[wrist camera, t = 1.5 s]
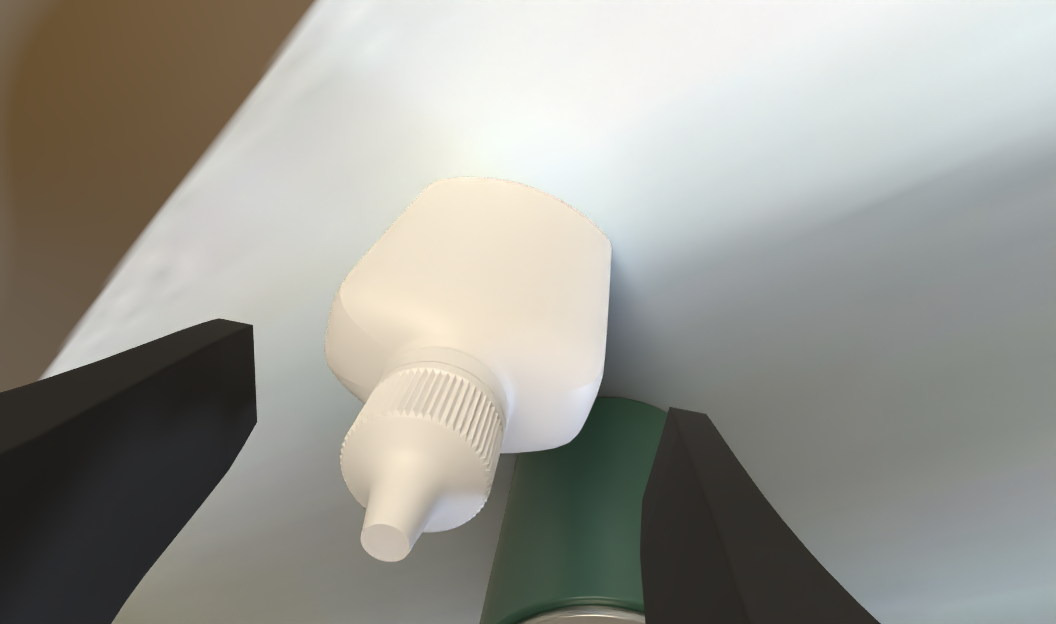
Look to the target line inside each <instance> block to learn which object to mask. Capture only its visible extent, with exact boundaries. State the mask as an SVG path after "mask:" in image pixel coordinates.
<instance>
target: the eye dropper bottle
mask: <svg viewBox="0 0 1056 624" xmlns="http://www.w3.org/2000/svg"><path fill="white" fill-rule="evenodd" d="M611 251H612V247H611V244H610V242H609V240H608V238H607V236H606V234H605V233H604V232H603V231H602V230H601V229H600V228H599V227H598V226H597V225H596V224H594V223H593V222H592V221H591V220H590V219H588V218H587V217H586V216H584V215H583V214H582V213H580V212H579V211H578V210H576V209H575V208H573V207H572V206H570V205H568V204H567V203H565V202H563V201H561V200H560V199H558V198H556V197H554V196H552V195H550V194H548V193H545V192H543V191H541V190H538V189H535V188H533V187H530V186H527V185H523V184H520V183H516V182H512V181H507V180H501V179H495V178H485V177H453V178H446V179H440V180H438V181H436V182H434V183H432V184H430V185H429V186H427V187H426V188H425V190H424V191H423V192H422V193H421V194H420V195H419V196H418V197H417V198H416V199H415V200H414V201H413V202H412V204H411V205H410V206H409V207H408V208H407V209H406V210H405V211H404V212H403V213H402V214H401V215H400V216H399V218H398V219H397V220H396V221H395V222H394V223H393V224H392V225H391V226H390V227H389V228H388V230H387V231H386V232H385V233H384V234H383V235H382V236H381V237H380V238H379V239H378V241H377V242H376V243H375V244H374V245H373V246H372V247H371V248H370V249H369V250H368V252H367V253H366V254H365V255H364V256H363V257H362V258H361V260H360V261H359V262H358V263H357V264H356V266H355V267H354V268H353V269H352V270H351V272H350V273H349V274H348V275H347V276H346V278H345V279H344V281H343V283H342V284H341V286H340V287H339V289H338V291H337V292H336V294H335V296H334V300H333V304H332V308H331V312H330V316H329V321H328V326H327V332H326V338H325V350H324V351H325V356H326V361H327V365H328V366H329V368H330V369H331V371H332V372H333V374H334V375H335V376H336V378H337V379H338V380H339V381H340V382H341V383H342V384H343V385H344V386H345V387H346V388H347V389H348V390H349V391H350V392H351V393H352V394H353V395H355V396H356V397H357V398H358V399H359V400H360V401H361V402H363V403H364V404H365V405H364V407H363V408H362V410H361V412H360V413H359V415H358V417H357V418H356V420H355V422H354V423H353V425H352V427H351V428H350V430H349V432H348V433H347V435H346V437H345V438H344V442H343V444H342V449H341V450H340V451H341V456H340V460H341V462H340V465H341V471H342V473H343V478H344V480H345V483H346V485H347V486H348V489H349V490H350V492H351V493H352V495H353V496H354V497H355V499H356V500H357V501H358V502H359V503H360V504H361V505H362V506H363V507H364V508H365V509H366V514H365V519H364V524H363V528H362V533H361V543H362V546H363V548H364V549H365V550H366V551H367V553H369V554H370V555H371V556H373V557H374V558H376V559H379V560H382V561H387V562H395V561H399V560H402V559H403V558H405V557H406V556H407V555H408V553H409V552H410V550H411V549H412V547H413V546H414V544H415V543H416V541H417V540H418V538H419V537H420V535H421V534H422V532H438V531H445V530H449V529H452V528H455V527H459V525H462V524H465V522H467V521H470V520H471V518H473V517H475V516H476V514H477V513H479V512H480V509H481V508H483V507H484V504H485V502H487V499H488V496H489V494H490V490H491V486H492V483H493V479H494V475H495V471H496V467H497V464H498V460H499V456H500V453H522V452H532V451H541V450H547V449H553V448H556V447H559V446H562V445H564V444H567V443H569V442H570V441H571V440H572V439H573V438H575V437H576V436H577V435H578V433H579V432H580V431H581V429H582V427H583V425H584V423H585V421H586V419H587V417H588V415H589V412H590V410H591V408H592V405H593V403H594V401H595V398H596V396H597V393H598V390H599V387H600V384H601V380H602V377H603V371H604V361H605V351H606V337H607V321H608V306H609V288H610V270H611Z"/></svg>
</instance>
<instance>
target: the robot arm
mask: <svg viewBox="0 0 1056 624" xmlns="http://www.w3.org/2000/svg"><path fill="white" fill-rule="evenodd" d="M256 423H257V409H256V386H255V363H254V341H253V325H250V324H245V323H240V322H235V321H230V320H224V319H215V320H211V321H207V322H204V323H201V324H198V325H195V326H192V327H189V328H186V329H183V330H181V331H178V332H175V333H172V334H170V335H167V336H164V337H162V338H159V339H156V340H154V341H151V342H148V343H146V344H143V345H140V346H137V347H135V348H132V349H129V350H127V351H124V352H121V353H119V354H116V355H113V356H110V357H108V358H105V359H102V360H100V361H97V362H94V363H91V364H88V365H85V366H82V367H79V368H76V369H73V370H70V371H67V372H64V373H61V374H58V375H55V376H52V377H49V378H46V379H43V380H40V381H37V382H35V383H31V384H28V385H25V386H22V387H18V388H15V389H12V390H8V391H5V392H1V393H0V624H111V623H112V621H113V620H114V618H115V617H116V615H117V614H118V612H119V611H120V609H121V607H122V606H123V604H124V603H125V601H126V600H127V599H128V597H129V596H130V594H131V593H132V592H133V590H134V589H135V588H136V586H137V585H138V584H139V582H140V581H141V580H142V578H143V577H144V576H145V574H146V573H147V572H148V571H149V569H150V568H151V567H152V566H153V564H154V563H155V562H156V561H157V559H158V558H159V557H160V556H161V554H162V553H163V552H164V551H165V549H166V548H167V547H168V546H169V544H170V543H171V542H172V541H173V539H174V538H175V537H176V536H177V534H178V533H179V532H180V531H181V530H182V528H183V527H184V526H185V525H186V523H187V522H188V521H189V520H190V518H191V517H192V516H193V515H194V513H195V512H196V511H197V510H198V508H199V507H200V506H201V505H202V503H203V502H204V501H205V500H206V498H207V497H208V496H209V495H210V493H211V492H212V491H213V489H214V488H215V487H216V486H217V484H218V483H219V482H220V481H221V479H222V478H223V477H224V475H225V474H226V473H227V471H228V470H229V469H230V467H231V465H232V464H233V462H234V460H235V459H236V457H237V456H238V454H239V452H240V451H241V449H242V447H243V446H244V444H245V442H246V440H247V439H248V437H249V435H250V433H251V432H252V430H253V428H254V426H255V425H256ZM640 564H641V577H642V589H643V601H644V613H645V624H880V623H879V622H878V621H877V620H876V619H875V618H874V617H873V616H872V615H871V614H870V613H869V612H868V611H867V610H865V609H864V608H863V607H862V606H861V605H860V604H859V603H858V602H857V601H856V600H855V599H854V598H853V597H852V596H851V595H850V594H849V593H848V592H847V591H846V590H845V589H844V588H843V587H842V586H841V585H840V583H839V582H838V581H837V580H836V579H835V578H834V577H833V576H832V575H831V574H830V573H829V572H828V571H827V570H826V569H825V568H824V567H823V566H822V565H821V564H820V563H819V562H818V560H817V559H816V558H815V557H814V556H813V555H812V554H811V553H810V552H809V551H808V549H807V548H806V547H805V546H804V545H803V543H802V542H801V541H800V540H799V539H798V538H797V536H796V535H795V534H794V533H793V532H792V530H791V529H790V528H789V527H788V526H787V524H786V523H785V522H784V521H783V520H782V518H781V517H780V516H779V515H778V513H777V512H776V511H775V510H774V508H773V507H772V506H771V505H770V503H769V502H768V501H767V499H766V498H765V497H764V495H763V494H762V493H761V491H760V490H759V489H758V487H757V486H756V485H755V483H754V482H753V481H752V479H751V478H750V476H749V475H748V474H747V472H746V471H745V469H744V468H743V467H742V465H741V464H740V462H739V461H738V459H737V458H736V457H735V455H734V454H733V452H732V451H731V449H730V448H729V446H728V445H727V444H726V442H725V441H724V439H723V438H722V436H721V435H720V433H719V432H718V430H717V429H716V427H715V426H714V424H713V423H712V421H711V420H710V419H709V417H708V416H707V414H703V413H698V412H693V411H688V410H683V409H677V408H672V407H670V408H669V411H668V415H667V418H666V421H665V425H664V428H663V431H662V435H661V438H660V442H659V445H658V448H657V452H656V455H655V458H654V462H653V465H652V468H651V472H650V475H649V479H648V482H647V485H646V489H645V492H644V495H643V499H642V512H641V534H640Z"/></svg>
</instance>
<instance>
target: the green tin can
mask: <svg viewBox="0 0 1056 624" xmlns="http://www.w3.org/2000/svg"><path fill="white" fill-rule="evenodd" d="M667 415H668V413H666V412H664V411H662V410H660V409H658V408H656V407H654V406H651V405H648V404H646V403H642V402H638V401H635V400H630V399H623V398H607V397H604V398H595V401H594V403H593V405H592V408H591V410H590V412H589V415H588V417H587V419H586V421H585V423H584V425H583V427H582V429H581V431H580V432H579V433H578V435H577V436H576V437H575V438H573V439H572V440H571V441H570V442H569V443H567V444H564V445H562V446H559V447H556V448H553V449H547V450H541V451H532V452H522V453H518V456H517V460H516V465H515V469H514V473H513V478H512V482H511V487H510V491H509V495H508V500H507V504H506V509H505V513H504V518H503V522H502V526H501V531H500V535H499V540H498V544H497V548H496V553H495V557H494V562H493V566H492V571H491V575H490V579H489V584H488V588H487V593H486V597H485V601H484V606H483V610H482V615H481V619H480V624H645V613H644V601H643V589H642V577H641V564H640V534H641V512H642V499H643V495H644V492H645V489H646V485H647V482H648V479H649V475H650V472H651V468H652V465H653V462H654V458H655V455H656V452H657V448H658V445H659V442H660V438H661V435H662V431H663V428H664V425H665V421H666V418H667Z"/></svg>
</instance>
